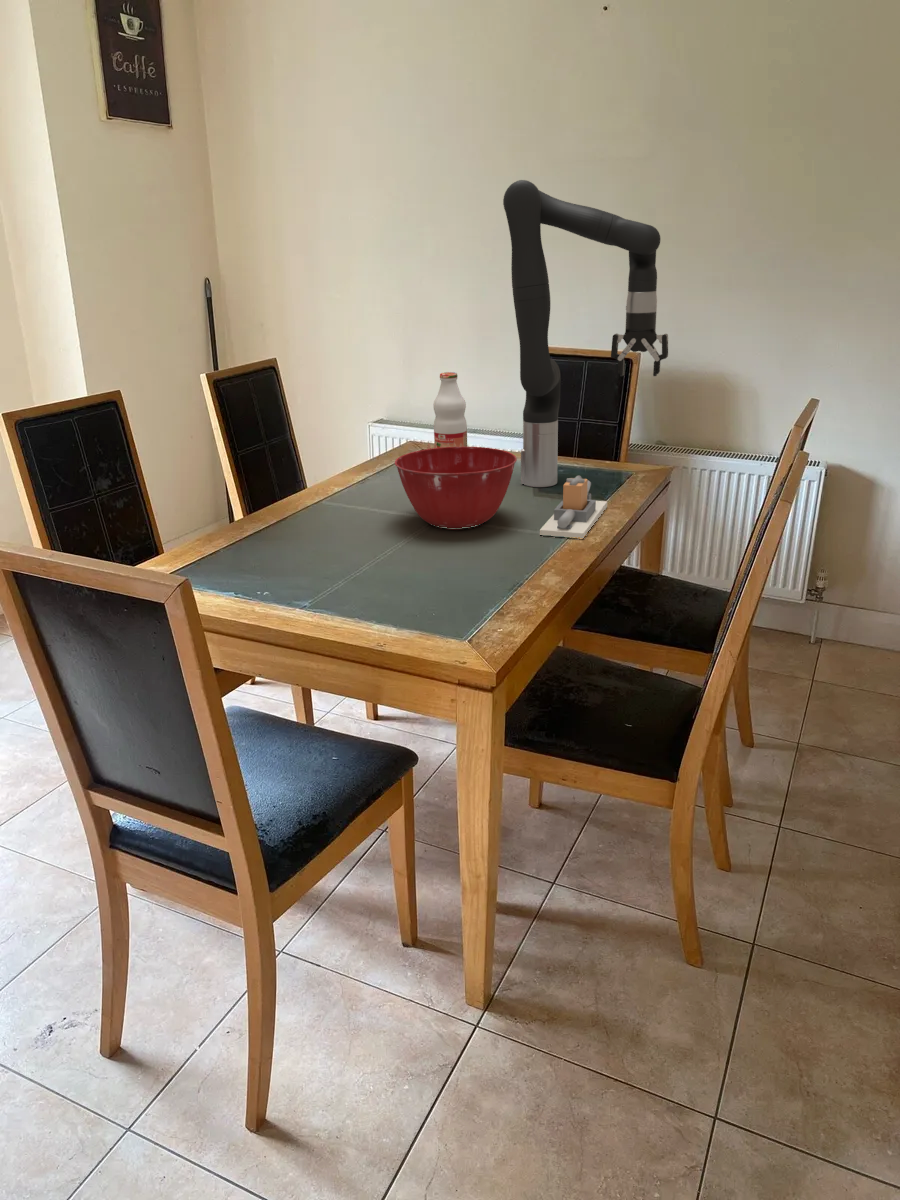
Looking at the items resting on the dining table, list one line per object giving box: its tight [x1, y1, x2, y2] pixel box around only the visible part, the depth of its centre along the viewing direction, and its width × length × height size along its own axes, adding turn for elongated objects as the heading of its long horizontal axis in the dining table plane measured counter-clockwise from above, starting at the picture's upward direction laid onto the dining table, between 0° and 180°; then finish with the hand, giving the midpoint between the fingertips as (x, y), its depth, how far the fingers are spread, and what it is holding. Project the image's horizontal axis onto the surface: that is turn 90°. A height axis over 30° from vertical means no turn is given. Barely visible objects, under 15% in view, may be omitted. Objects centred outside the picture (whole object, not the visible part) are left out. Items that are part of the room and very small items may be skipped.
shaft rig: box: [539, 480, 608, 539], centre depth 212 cm, size 10×26×7 cm, turn 159°
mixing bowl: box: [394, 446, 518, 528], centre depth 214 cm, size 28×28×15 cm
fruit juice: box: [433, 371, 468, 448], centre depth 255 cm, size 9×9×28 cm
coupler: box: [562, 475, 588, 510], centre depth 211 cm, size 6×4×9 cm, turn 159°
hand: (638, 375), depth 234 cm, fingers open, 8 cm apart
